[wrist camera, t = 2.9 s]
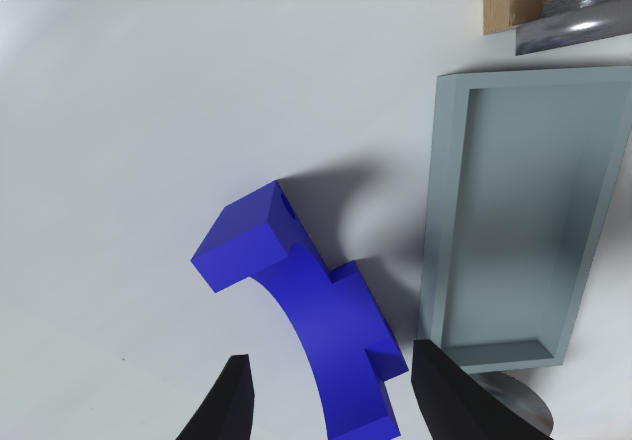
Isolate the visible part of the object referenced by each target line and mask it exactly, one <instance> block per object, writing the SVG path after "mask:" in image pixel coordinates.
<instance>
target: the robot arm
mask: <svg viewBox="0 0 632 440" xmlns="http://www.w3.org/2000/svg"><path fill="white" fill-rule="evenodd" d="M411 383H412V386H413V390H414V393H415V396H416V399H417V402H418V405H419V408H420V411H421V413H422V415H423V418H424V420H425V422H426V425H427V427H428V429H429V431H430V434H431V436H432V438H433V440H554V439H552V438H550V437H549V436H547V435H546V434H544V433H543V432H541V431H540V430H538V429H537V428H535V427H534V426H532V425H531V424H530V423H528V422H527V421H525V420H524V419H523V418H521V417H520V416H518V415H517V414H516V413H514V412H513V411H512V410H510V409H509V408H508V407H506V406H505V405H504V404H502V403H501V402H500V401H499V400H497V399H496V398H495V397H494V396H492V395H491V394H490V393H489V392H487V391H486V390H485V389H484V388H483V387H482V386H480V385H479V384H478V383H477V382H476V381H475V380H474V379H472V378H471V377H470V376H469V375H468V374H467V373H466V372H465V371H463V370H462V369H461V368H460V367H459V366H458V365H457V364H456V363H455V362H454V361H453V360H452V359H450V358H449V357H448V356H447V355H446V354H445V353H444V352H443V351H442V350H441V349H440V348H439V347H438V346H437V345H436V344H435V343H434V342H433V341H431V340H430V339H423V340H414V346H413V360H412V374H411ZM254 397H255V395H254V388H253V382H252V375H251V369H250V362H249V356H248V354H245V355H233V356H231V357H230V358H229V360H228V361H227V363H226V365H225V367H224V369H223V370H222V372H221V374H220V375H219V377H218V379H217V380H216V382H215V384H214V385H213V387H212V388H211V390H210V392H209V393H208V395H207V396H206V398H205V399H204V401H203V402H202V404H201V405H200V407H199V408H198V410H197V411H196V412H195V414H194V415H193V417H192V418H191V419H190V421H189V422H188V424H187V425H186V426H185V428H184V429H183V430H182V432H181V433H180V434H179V436H178V437H177V438H176V440H250V435H251V429H252V422H253V410H254Z"/></svg>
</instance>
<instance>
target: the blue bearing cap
mask: <svg viewBox="0 0 632 440" xmlns="http://www.w3.org/2000/svg"><path fill="white" fill-rule="evenodd" d="M190 261H191V262H192V264H193V265H194V266H195V267H196V269H197V270H198V271H199V273H200V274H201V275H202V277H203V278H204V279H205V281H206V282H207V283H208V284H209V286H210V287H211V288H212V290H213V291H214V292H215V293H217V292H219V291H221V290H223V289H225V288H227V287H229V286H231V285H233V284H235V283H237V282H239V281H241V280H243V279H245V278H247V277H251V278H253V279H255V280H256V281H258V282H259V283H260V284H261V285H263V286H264V287H265V288H266V289H267V290H268V291H269V292H270V293H271V294H272V296H273V297H274V298H275V299H276V301H277V302H278V303H279V304H280V306H281V307H282V309H283V310H284V312H285V313H286V315H287V317H288V318H289V320H290V322H291V323H292V325H293V327H294V329H295V331H296V333H297V335H298V337H299V339H300V341H301V343H302V346H303V348H304V350H305V353H306V355H307V358H308V360H309V363H310V365H311V368H312V371H313V374H314V377H315V380H316V384H317V387H318V391H319V395H320V398H321V403H322V407H323V412H324V417H325V423H326V429H327V437H328V440H391V439H393V438H396V437H398V436H401V434H400V431H399V428H398V425H397V422H396V418H395V415H394V412H393V409H392V406H391V403H390V399H389V396H388V393H387V390H386V387H385V384H384V381H387V380H389V379H391V378H393V377H396V376H398V375H400V374H403V373H405V372H407V371H409V369H408V367H407V365H406V362H405V360H404V357H403V355H402V353H401V350H400V348H399V346H398V343H397V341H396V338H395V336H394V334H393V332H392V330H391V328H390V327H389V325H388V323H387V321H386V319H385V317H384V316H383V314H382V312H381V310H380V308H379V306H378V304H377V303H376V301H375V299H374V297H373V295H372V293H371V292H370V290H369V288H368V286H367V284H366V282H365V281H364V279H363V277H362V275H361V273H360V271H359V269H358V268H357V266H356V264H355V262H354V260H352V261H350V262H348V263H346V264H344V265H342V266H340V267H338V268H336V269H334V270H332V271H330V272H329V270H328V268H327V267H326V265H325V263H324V261H323V260H322V258H321V256H320V255H319V253H318V251H317V249H316V248H315V246H314V244H313V243H312V241H311V239H310V237H309V236H308V234H307V232H306V231H305V229H304V227H303V225H302V224H301V222H300V220H299V219H298V217H297V215H296V213H295V212H294V210H293V208H292V207H291V205H290V203H289V202H288V200H287V198H286V196H285V195H284V193H283V191H282V190H281V188H280V186H279V184H278V183H277V181H276V180H275V181H273V182H271V183H269V184H267V185H265V186H263V187H262V188H260V189H258V190H256V191H254V192H252V193H250V194H249V195H247V196H245V197H243V198H241V199H239V200H237V201H235V202H234V203H232V204H230V205H228V206H226V207H224V209H223V211H222V212H221V214H220V215H219V217H218V218H217V220H216V221H215V223H214V225H213V226H212V228H211V229H210V231H209V232H208V234H207V235H206V237H205V239H204V240H203V242H202V243H201V245H200V246H199V248H198V249H197V251H196V253H195V254H194V256H193V257H192V259H191V260H190Z"/></svg>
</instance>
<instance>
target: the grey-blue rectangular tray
mask: <svg viewBox="0 0 632 440" xmlns="http://www.w3.org/2000/svg"><path fill="white" fill-rule="evenodd" d="M631 126H632V65H626V66H605V67H585V68H564V69H544V70H523V71H503V72H482V73H462V74H452V75H445V76H439V77H437V88H436V100H435V113H434V126H433V138H432V151H431V164H430V177H429V189H428V202H427V215H426V227H425V240H424V253H423V265H422V278H421V291H420V303H419V316H418V329H417V340H423V339H430V340H431V341H433V342H434V343H435V344H436V345H437V346H438V347H439V348H440V349H441V350H442V351H443V352H444V353H445V354H446V355H447V356H448V357H449V358H450V359H452V360H453V361H454V362H455V363H456V364H457V365H458V366H459V367H460V368H461V369H462V370H463V371H465V372H466V373H467V374H471V373H482V372H493V371H504V370H515V369H526V368H537V367H548V366H559V365H563V361H564V358H565V354H566V351H567V347H568V344H569V340H570V337H571V333H572V330H573V327H574V323H575V320H576V316H577V313H578V309H579V306H580V302H581V299H582V295H583V292H584V289H585V285H586V282H587V278H588V275H589V271H590V268H591V264H592V261H593V257H594V254H595V251H596V247H597V244H598V240H599V237H600V233H601V230H602V226H603V223H604V219H605V216H606V213H607V209H608V206H609V202H610V199H611V195H612V192H613V188H614V185H615V181H616V178H617V174H618V171H619V168H620V164H621V161H622V157H623V154H624V150H625V147H626V143H627V140H628V136H629V133H630V130H631Z"/></svg>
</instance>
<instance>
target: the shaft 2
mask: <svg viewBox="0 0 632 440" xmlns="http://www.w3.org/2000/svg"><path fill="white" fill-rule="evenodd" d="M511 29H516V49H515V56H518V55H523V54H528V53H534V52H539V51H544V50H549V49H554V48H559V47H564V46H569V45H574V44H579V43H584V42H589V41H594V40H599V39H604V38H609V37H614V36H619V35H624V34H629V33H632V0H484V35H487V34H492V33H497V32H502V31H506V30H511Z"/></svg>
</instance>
